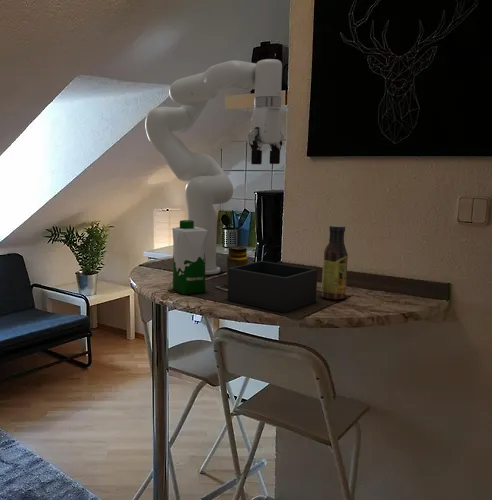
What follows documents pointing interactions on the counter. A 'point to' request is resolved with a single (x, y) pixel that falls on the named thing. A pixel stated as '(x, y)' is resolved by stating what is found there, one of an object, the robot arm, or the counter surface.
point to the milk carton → (189, 258)
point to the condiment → (235, 261)
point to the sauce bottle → (335, 265)
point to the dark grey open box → (272, 285)
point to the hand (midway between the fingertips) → (265, 164)
